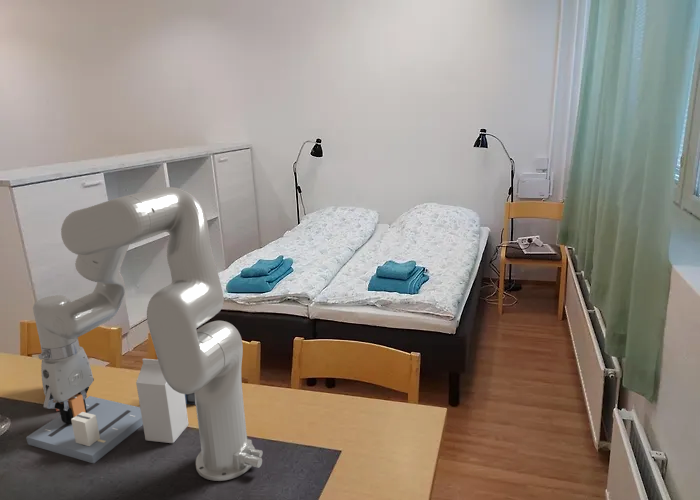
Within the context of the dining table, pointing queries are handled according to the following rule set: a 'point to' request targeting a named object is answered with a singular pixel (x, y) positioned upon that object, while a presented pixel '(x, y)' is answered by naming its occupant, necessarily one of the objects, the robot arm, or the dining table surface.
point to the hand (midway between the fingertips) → (75, 417)
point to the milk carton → (160, 405)
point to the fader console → (112, 425)
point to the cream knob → (85, 428)
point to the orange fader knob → (76, 404)
